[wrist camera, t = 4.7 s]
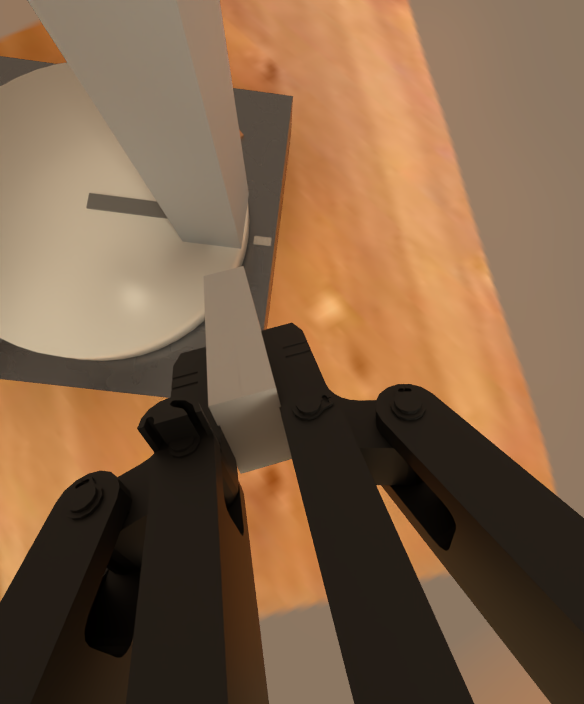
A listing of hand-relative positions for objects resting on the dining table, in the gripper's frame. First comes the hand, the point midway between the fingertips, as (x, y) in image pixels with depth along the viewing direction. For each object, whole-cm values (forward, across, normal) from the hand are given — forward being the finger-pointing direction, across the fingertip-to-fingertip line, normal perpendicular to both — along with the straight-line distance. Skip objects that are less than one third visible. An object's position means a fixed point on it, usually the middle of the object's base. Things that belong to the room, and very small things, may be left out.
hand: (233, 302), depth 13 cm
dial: (+10, -6, +2) cm, 12 cm away
